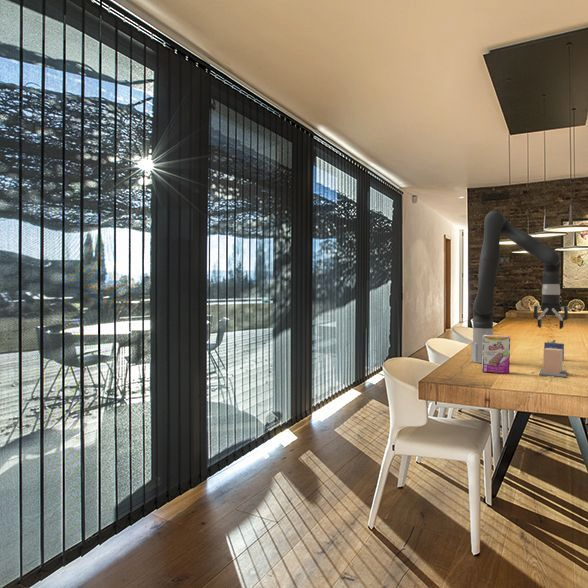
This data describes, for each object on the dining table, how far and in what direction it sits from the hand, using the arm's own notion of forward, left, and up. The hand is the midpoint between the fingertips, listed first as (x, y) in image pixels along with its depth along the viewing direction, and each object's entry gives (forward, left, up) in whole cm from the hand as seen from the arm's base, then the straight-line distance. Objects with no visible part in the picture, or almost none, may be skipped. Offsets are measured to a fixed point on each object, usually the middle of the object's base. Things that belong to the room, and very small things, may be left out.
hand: (550, 328), depth 225 cm
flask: (+14, +24, -19) cm, 33 cm away
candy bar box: (-30, -14, -19) cm, 39 cm away
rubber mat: (-6, -16, -19) cm, 26 cm away
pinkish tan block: (-6, -16, -18) cm, 25 cm away
